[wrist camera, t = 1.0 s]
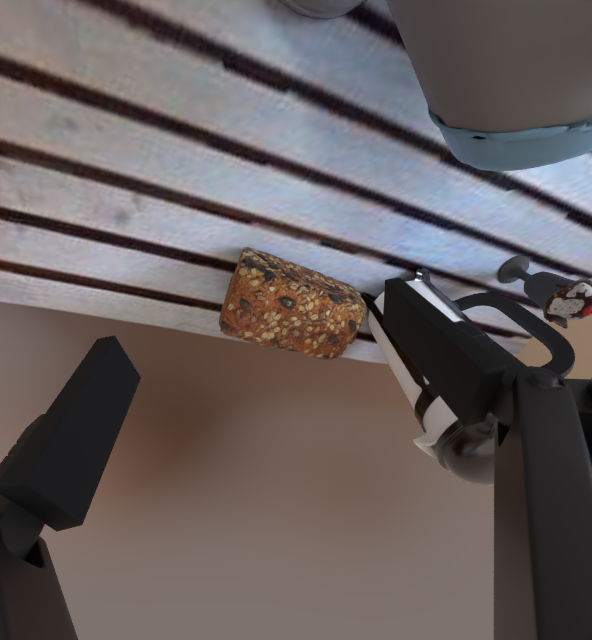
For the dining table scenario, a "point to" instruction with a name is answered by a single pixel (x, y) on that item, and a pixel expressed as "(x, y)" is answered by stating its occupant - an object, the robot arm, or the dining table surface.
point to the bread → (290, 307)
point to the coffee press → (430, 410)
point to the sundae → (551, 291)
